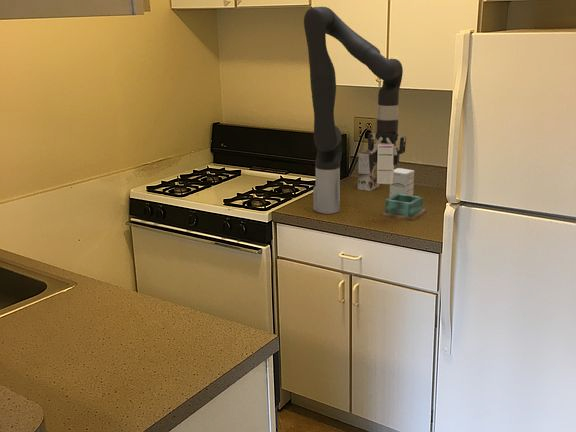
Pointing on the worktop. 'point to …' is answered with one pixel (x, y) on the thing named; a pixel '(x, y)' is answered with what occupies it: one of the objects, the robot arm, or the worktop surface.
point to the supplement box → (402, 182)
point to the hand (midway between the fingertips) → (385, 163)
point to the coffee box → (367, 171)
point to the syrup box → (385, 163)
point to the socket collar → (404, 207)
